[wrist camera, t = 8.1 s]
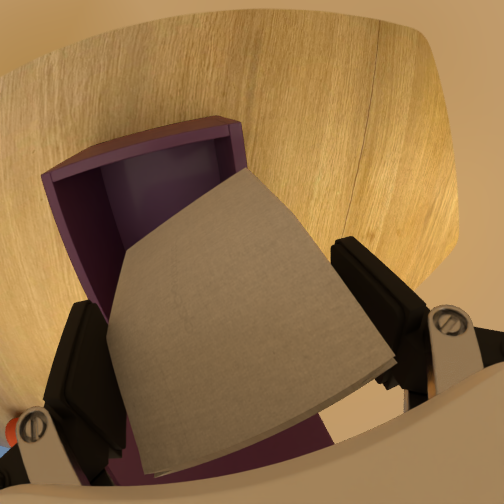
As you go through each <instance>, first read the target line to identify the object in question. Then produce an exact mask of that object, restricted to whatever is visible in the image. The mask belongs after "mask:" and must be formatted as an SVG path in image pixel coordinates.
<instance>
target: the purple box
mask: <svg viewBox="0 0 504 504" xmlns="http://www.w3.org/2000/svg"><path fill="white" fill-rule="evenodd" d="M245 167H246V168H247V161H246V154H245V146H244V139H243V132H242V125H241V122H239V121H235V120H232V119H228V118H224V117H221V116H210V117H205V118H199V119H194V120H189V121H184V122H180V123H175V124H171V125H166V126H162V127H158V128H154V129H150V130H146V131H142V132H138V133H134V134H131V135H127V136H123V137H120V138H116V139H113V140H110V141H106V142H103V143H100V144H97V145H94V146H91V147H89V148H87V149H85V150H83V151H81V152H79V153H78V154H76V155H74V156H72V157H70V158H69V159H67V160H65V161H63V162H62V163H60V164H58V165H56V166H55V167H53V168H51V169H50V170H48V171H47V172H45V173H43V174H42V175H41V178H42V182H43V185H44V189H45V192H46V195H47V198H48V201H49V204H50V207H51V210H52V213H53V216H54V219H55V222H56V224H57V227H58V230H59V233H60V235H61V238H62V240H63V243H64V245H65V248H66V250H67V253H68V255H69V258H70V260H71V262H72V265H73V267H74V269H75V272H76V274H77V276H78V278H79V281H80V283H81V285H82V287H83V289H84V291H85V293H86V295H87V298H88V300H91V301H92V303H96V304H97V305H98V306H99V308H100V310H101V312H102V314H103V316H104V318H105V320H106V322H107V323H108V324H109V319H110V314H111V310H112V305H113V301H114V297H115V293H116V288H117V284H118V280H119V277H120V273H121V269H122V265H123V262H124V258H125V254H126V251H127V250H128V249H129V248H131V247H132V246H133V245H134V244H136V243H137V242H138V241H140V240H141V239H142V238H144V237H145V236H146V235H148V234H149V233H151V232H152V231H153V230H155V229H156V228H157V227H159V226H160V225H161V224H163V223H164V222H166V221H167V220H168V219H170V218H171V217H173V216H174V215H175V214H177V213H178V212H180V211H181V210H182V209H184V208H185V207H187V206H188V205H190V204H191V203H193V202H194V201H195V200H197V199H198V198H200V197H201V196H203V195H204V194H206V193H207V192H209V191H210V190H212V189H213V188H215V187H216V186H218V185H219V184H221V183H222V182H224V181H225V180H227V179H228V178H230V177H231V176H233V175H234V174H236V173H237V172H239V171H241V170H242V169H244V168H245ZM247 169H248V168H247Z"/></svg>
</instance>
